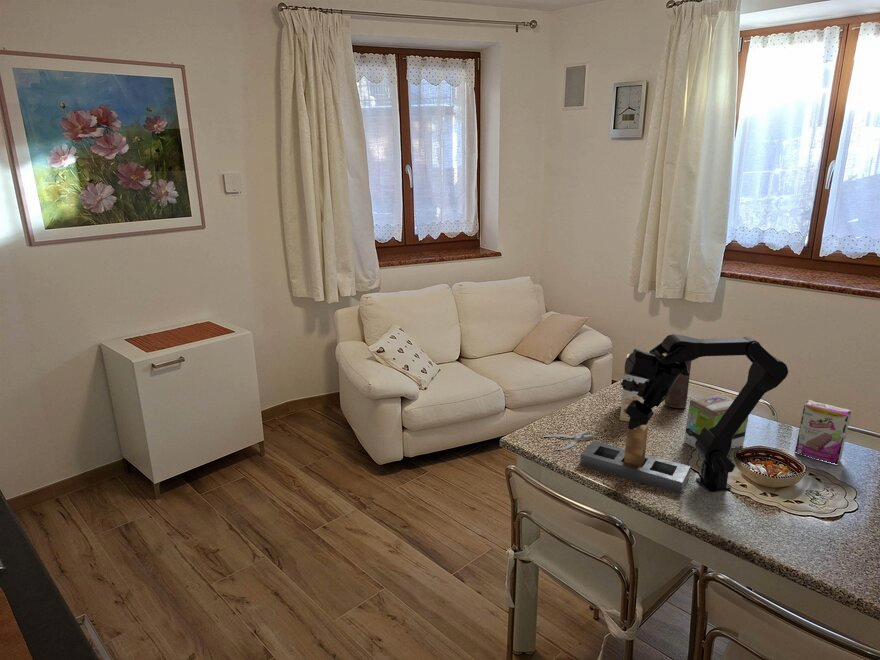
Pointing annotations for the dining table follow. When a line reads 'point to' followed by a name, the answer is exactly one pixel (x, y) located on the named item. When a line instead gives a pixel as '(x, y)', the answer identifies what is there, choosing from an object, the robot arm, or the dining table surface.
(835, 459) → the candy bar box
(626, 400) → the coffeecake box
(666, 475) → the grey long block
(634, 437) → the peg
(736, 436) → the tea box
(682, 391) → the candle
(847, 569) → the dining table surface
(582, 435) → the pliers
